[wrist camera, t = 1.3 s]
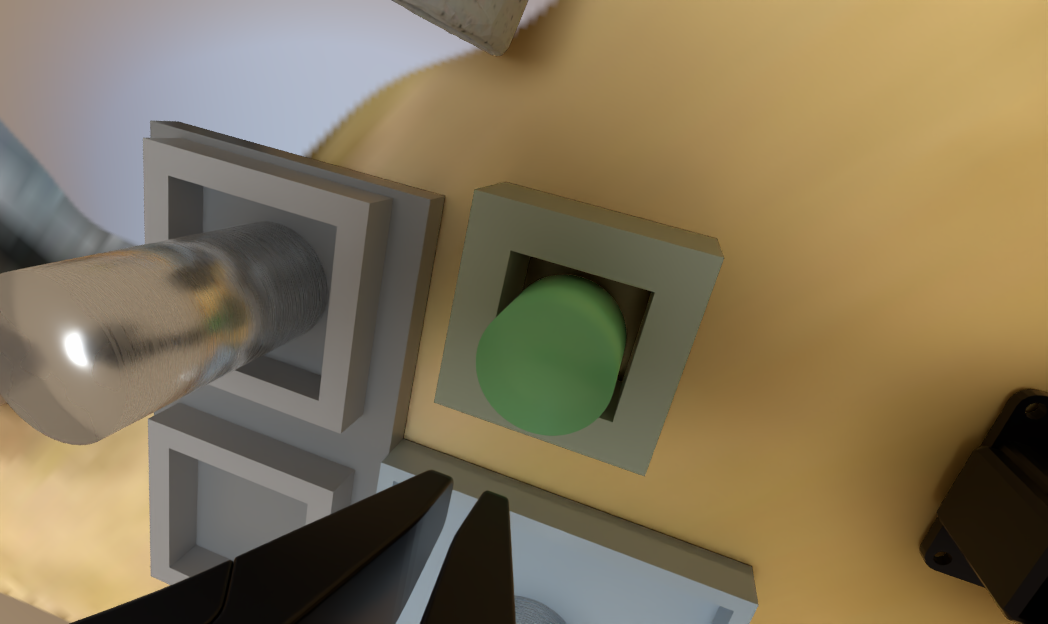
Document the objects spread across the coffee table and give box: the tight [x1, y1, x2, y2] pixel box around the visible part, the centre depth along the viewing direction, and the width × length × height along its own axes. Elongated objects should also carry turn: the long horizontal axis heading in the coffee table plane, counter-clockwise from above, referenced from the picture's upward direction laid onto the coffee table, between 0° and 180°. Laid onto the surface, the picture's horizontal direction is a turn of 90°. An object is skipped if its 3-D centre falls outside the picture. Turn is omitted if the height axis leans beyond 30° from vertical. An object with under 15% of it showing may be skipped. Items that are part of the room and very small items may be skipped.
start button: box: [476, 274, 627, 436], centre depth 15 cm, size 4×4×3 cm
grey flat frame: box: [143, 121, 445, 585], centre depth 22 cm, size 11×20×3 cm, turn 167°
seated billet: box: [0, 221, 328, 445], centre depth 17 cm, size 4×4×8 cm
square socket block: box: [434, 182, 724, 476], centre depth 18 cm, size 7×7×3 cm
